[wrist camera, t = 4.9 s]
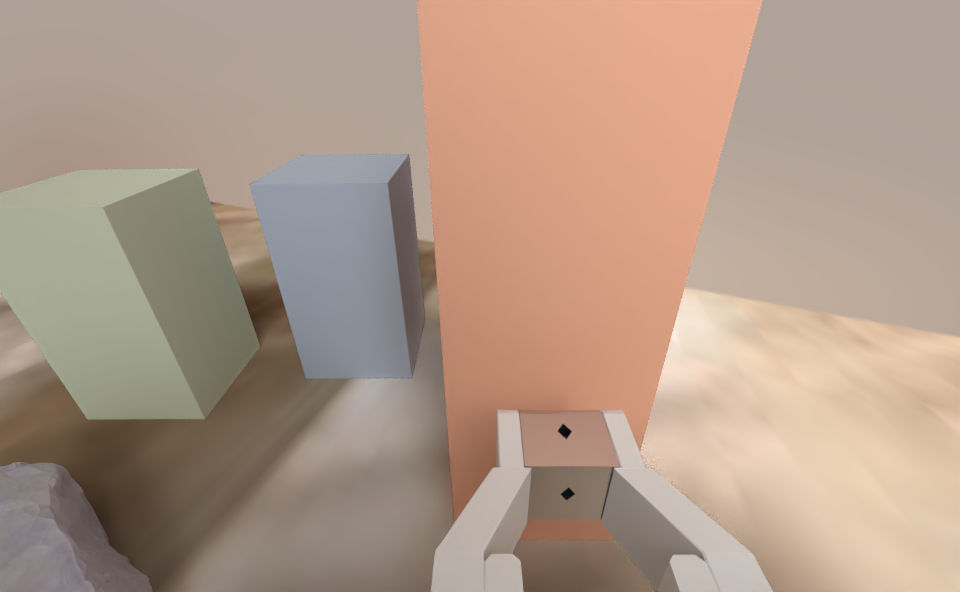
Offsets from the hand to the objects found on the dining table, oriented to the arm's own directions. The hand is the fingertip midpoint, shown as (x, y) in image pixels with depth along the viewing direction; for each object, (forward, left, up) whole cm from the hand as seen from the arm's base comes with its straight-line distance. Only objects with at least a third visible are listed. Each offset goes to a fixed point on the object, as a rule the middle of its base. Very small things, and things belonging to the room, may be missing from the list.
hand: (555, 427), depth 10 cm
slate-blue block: (-9, +14, -8) cm, 18 cm away
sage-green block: (-19, +11, -8) cm, 23 cm away
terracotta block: (0, +10, -8) cm, 13 cm away
